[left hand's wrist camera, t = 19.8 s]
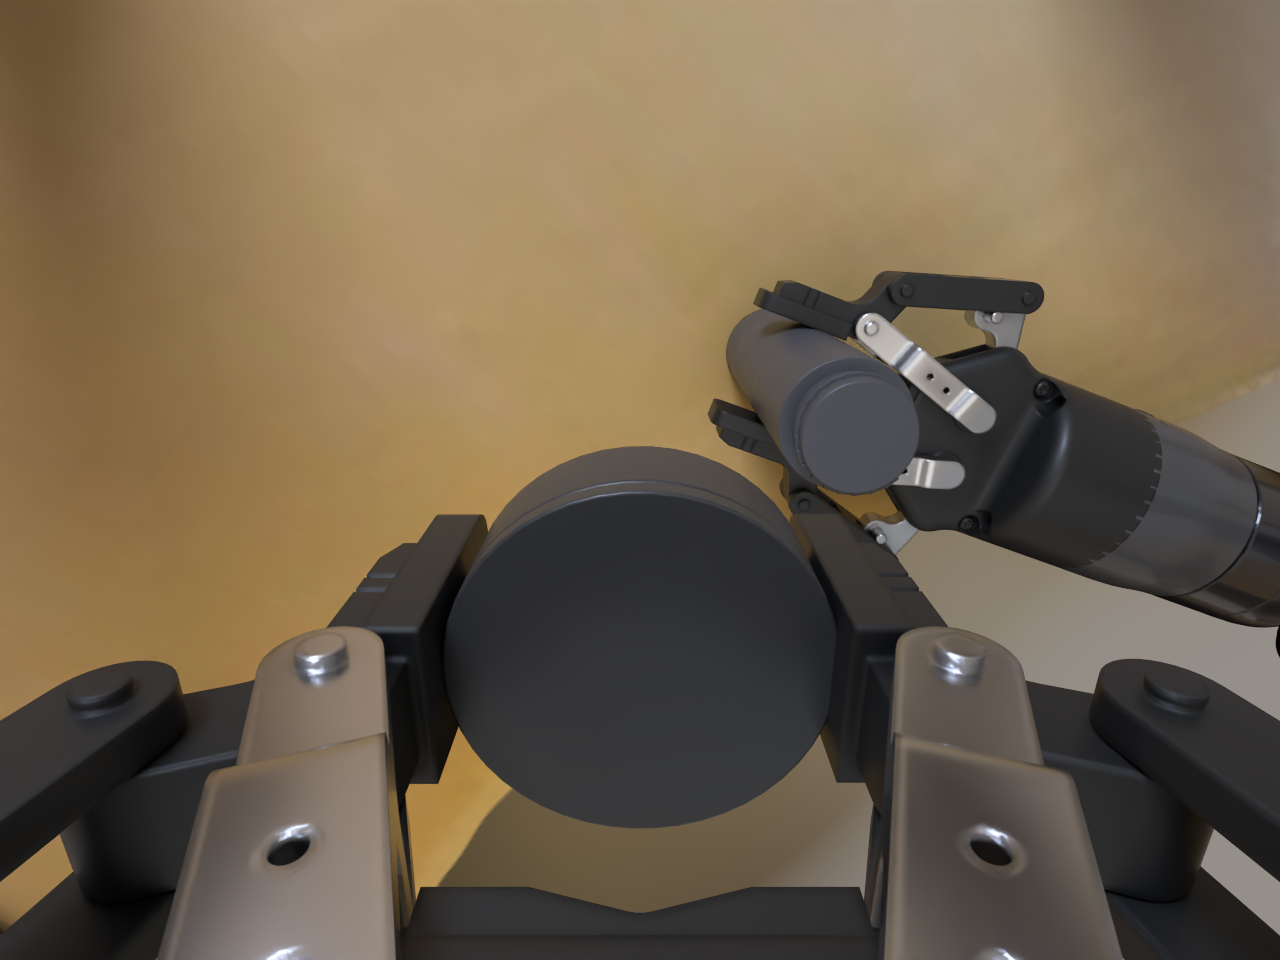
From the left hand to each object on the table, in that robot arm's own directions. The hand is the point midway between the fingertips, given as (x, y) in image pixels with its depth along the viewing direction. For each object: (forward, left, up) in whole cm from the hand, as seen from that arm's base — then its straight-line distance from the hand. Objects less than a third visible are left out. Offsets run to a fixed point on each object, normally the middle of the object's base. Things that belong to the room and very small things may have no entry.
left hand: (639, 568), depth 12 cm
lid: (0, 0, +3) cm, 3 cm away
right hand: (-1, +4, -19) cm, 19 cm away
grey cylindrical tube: (0, +7, -26) cm, 27 cm away
